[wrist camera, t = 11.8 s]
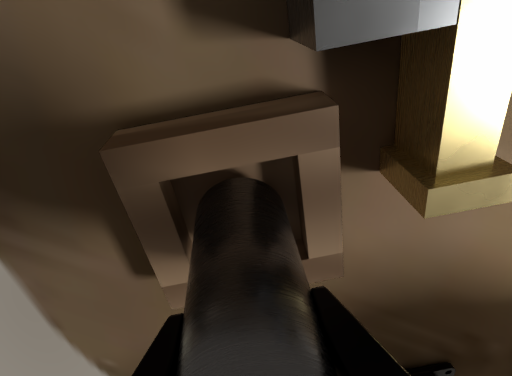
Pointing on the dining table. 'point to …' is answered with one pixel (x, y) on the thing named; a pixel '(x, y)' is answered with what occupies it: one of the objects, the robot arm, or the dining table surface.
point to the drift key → (453, 112)
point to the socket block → (364, 20)
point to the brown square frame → (227, 167)
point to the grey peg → (248, 291)
